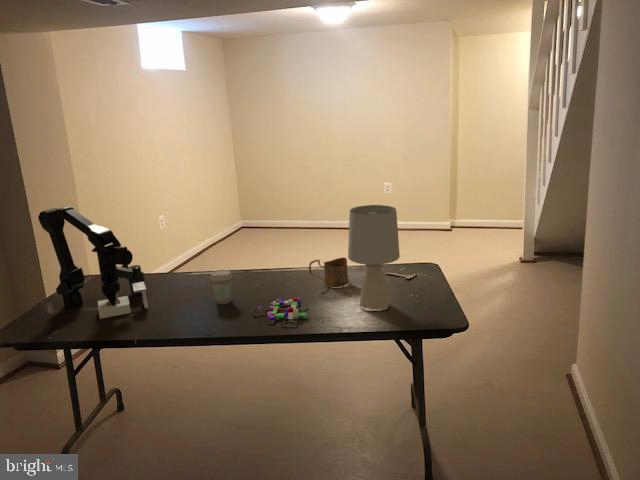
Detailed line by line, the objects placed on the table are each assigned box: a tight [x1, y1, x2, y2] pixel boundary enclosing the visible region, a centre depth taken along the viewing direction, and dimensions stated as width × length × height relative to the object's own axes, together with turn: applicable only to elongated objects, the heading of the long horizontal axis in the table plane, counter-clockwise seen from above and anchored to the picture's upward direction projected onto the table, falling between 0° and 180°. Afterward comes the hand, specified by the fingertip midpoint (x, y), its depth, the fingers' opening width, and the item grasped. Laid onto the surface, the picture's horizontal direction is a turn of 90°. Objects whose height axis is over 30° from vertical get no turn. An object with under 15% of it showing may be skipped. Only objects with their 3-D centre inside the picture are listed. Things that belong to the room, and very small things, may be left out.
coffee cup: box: [210, 269, 233, 305], centre depth 200 cm, size 8×9×12 cm
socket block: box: [97, 295, 132, 320], centre depth 197 cm, size 11×10×4 cm
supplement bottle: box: [127, 264, 148, 297], centre depth 213 cm, size 7×7×12 cm
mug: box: [308, 257, 350, 287], centre depth 213 cm, size 12×18×12 cm, turn 115°
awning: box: [132, 282, 149, 310], centre depth 200 cm, size 4×9×8 cm, turn 24°
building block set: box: [258, 297, 308, 320], centre depth 188 cm, size 25×20×4 cm
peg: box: [108, 292, 119, 306], centre depth 197 cm, size 4×4×8 cm
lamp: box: [347, 204, 401, 309], centre depth 185 cm, size 19×19×37 cm
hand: (113, 301), depth 197 cm, fingers open, 9 cm apart
